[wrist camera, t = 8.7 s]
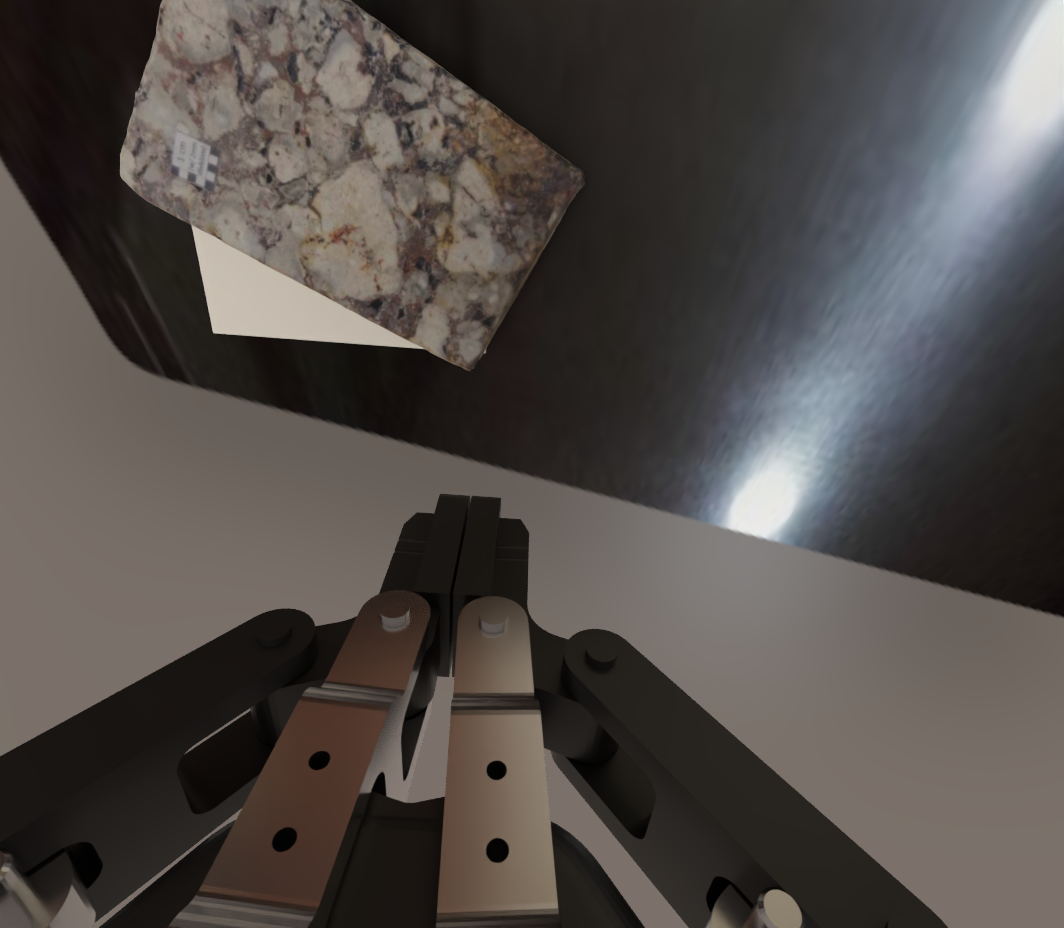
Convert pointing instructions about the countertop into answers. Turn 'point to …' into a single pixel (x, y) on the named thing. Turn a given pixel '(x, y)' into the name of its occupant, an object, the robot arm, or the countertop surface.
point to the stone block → (345, 164)
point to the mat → (276, 302)
